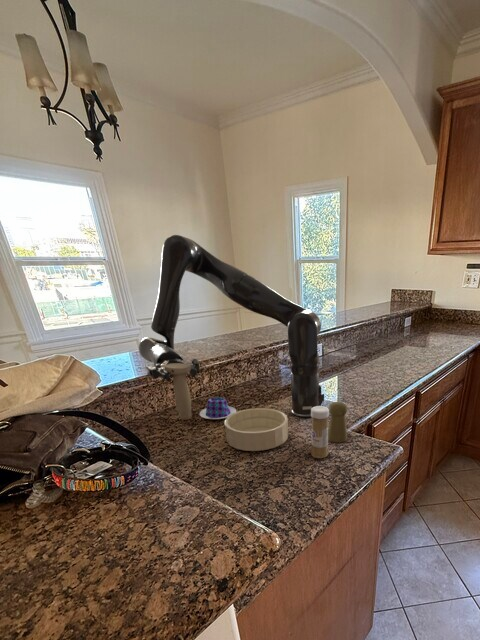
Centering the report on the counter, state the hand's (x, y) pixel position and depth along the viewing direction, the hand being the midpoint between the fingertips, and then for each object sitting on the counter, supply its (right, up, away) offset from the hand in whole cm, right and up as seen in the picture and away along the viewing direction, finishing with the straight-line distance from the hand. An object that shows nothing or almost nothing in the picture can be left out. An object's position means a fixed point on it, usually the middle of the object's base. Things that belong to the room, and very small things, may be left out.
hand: (181, 375), depth 92 cm
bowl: (+18, -17, +11) cm, 27 cm away
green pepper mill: (+41, -17, +12) cm, 46 cm away
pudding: (+1, -9, +28) cm, 29 cm away
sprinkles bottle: (+36, -21, +3) cm, 42 cm away
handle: (-2, -11, +7) cm, 13 cm away
